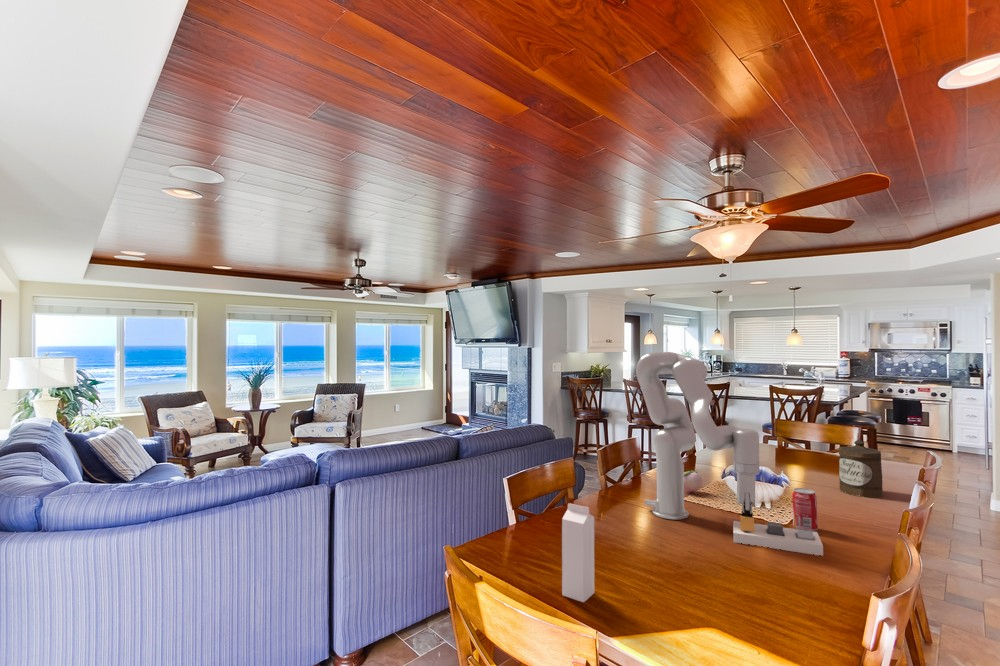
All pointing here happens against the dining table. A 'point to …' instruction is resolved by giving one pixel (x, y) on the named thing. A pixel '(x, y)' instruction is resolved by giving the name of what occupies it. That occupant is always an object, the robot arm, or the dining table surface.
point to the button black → (775, 528)
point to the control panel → (777, 539)
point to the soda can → (805, 508)
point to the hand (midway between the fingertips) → (747, 524)
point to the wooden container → (860, 470)
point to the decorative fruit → (692, 481)
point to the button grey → (804, 532)
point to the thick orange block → (747, 524)
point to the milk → (577, 553)
